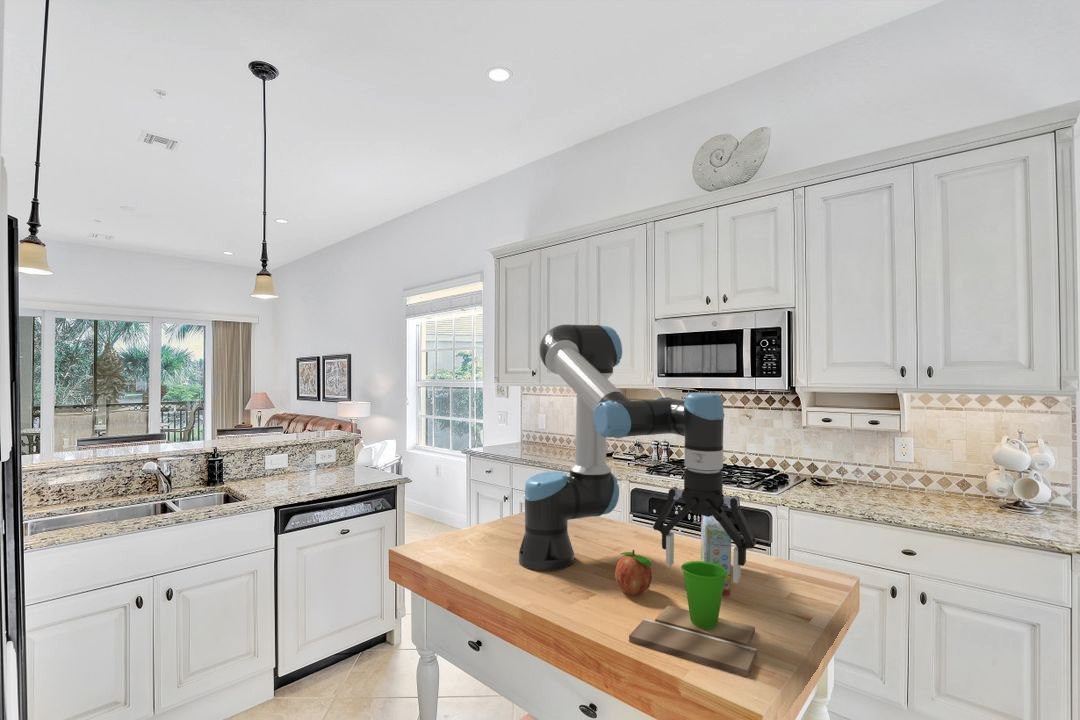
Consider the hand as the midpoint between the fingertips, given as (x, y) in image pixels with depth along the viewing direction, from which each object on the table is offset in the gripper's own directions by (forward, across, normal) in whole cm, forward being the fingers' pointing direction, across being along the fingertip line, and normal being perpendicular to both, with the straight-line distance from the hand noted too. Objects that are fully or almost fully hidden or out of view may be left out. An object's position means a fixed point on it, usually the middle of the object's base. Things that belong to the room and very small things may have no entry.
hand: (702, 572), depth 109 cm
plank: (+11, +1, 0) cm, 11 cm away
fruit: (+12, -18, +8) cm, 23 cm away
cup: (+10, +1, 0) cm, 10 cm away
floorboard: (+11, +1, -9) cm, 14 cm away
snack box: (+12, -4, +27) cm, 30 cm away
